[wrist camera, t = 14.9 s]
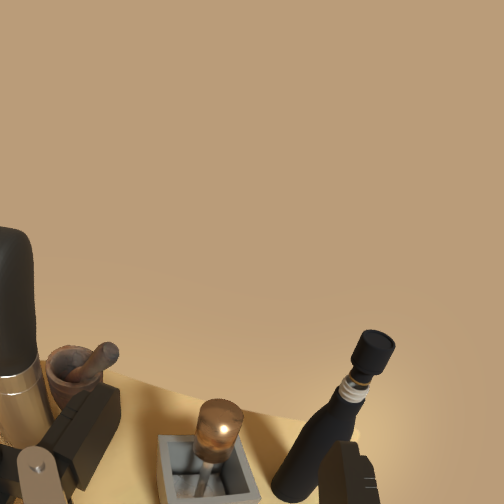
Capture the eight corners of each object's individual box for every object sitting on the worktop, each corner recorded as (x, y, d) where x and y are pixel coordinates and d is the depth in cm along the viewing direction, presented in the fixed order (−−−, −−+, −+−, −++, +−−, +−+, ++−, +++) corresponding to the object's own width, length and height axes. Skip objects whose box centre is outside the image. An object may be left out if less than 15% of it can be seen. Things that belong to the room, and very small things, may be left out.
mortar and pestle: (128, 412, 47) (129, 317, 40) (121, 451, 39) (115, 358, 32) (66, 397, 45) (53, 301, 38) (52, 433, 37) (27, 336, 30)
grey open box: (165, 535, 28) (168, 506, 24) (156, 478, 36) (157, 434, 32) (239, 529, 31) (261, 498, 27) (222, 475, 40) (238, 433, 36)
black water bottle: (264, 493, 38) (346, 343, 28) (279, 466, 44) (354, 316, 34) (303, 508, 36) (407, 365, 26) (315, 480, 41) (406, 335, 32)
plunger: (175, 521, 28) (188, 446, 22) (167, 477, 35) (177, 386, 28) (230, 516, 31) (271, 441, 24) (218, 475, 37) (248, 386, 31)
